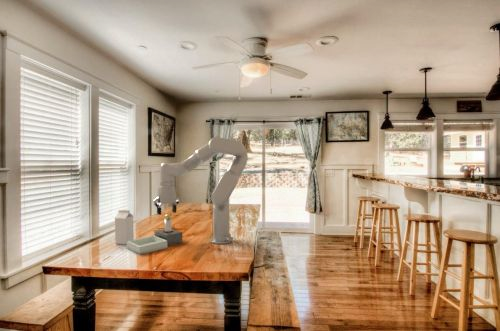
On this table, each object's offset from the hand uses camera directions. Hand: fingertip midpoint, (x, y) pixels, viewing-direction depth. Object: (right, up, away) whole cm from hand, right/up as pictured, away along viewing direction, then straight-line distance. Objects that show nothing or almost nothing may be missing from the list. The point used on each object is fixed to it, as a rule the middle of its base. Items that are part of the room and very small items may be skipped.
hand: (166, 213), depth 166 cm
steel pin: (+1, -17, 0) cm, 17 cm away
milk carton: (-25, -17, 0) cm, 30 cm away
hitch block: (+1, -17, 0) cm, 17 cm away
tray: (-8, -17, -11) cm, 22 cm away
